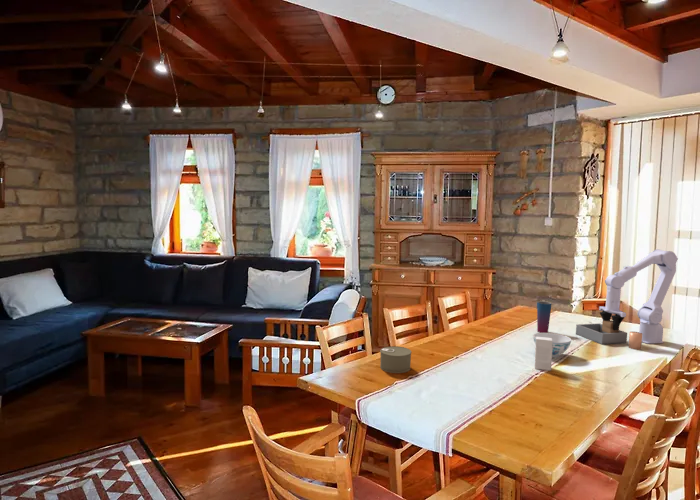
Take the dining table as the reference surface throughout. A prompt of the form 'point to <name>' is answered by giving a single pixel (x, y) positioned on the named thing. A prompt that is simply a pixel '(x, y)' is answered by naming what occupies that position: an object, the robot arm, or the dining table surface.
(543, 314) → the cup
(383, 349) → the can
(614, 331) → the walnut cube
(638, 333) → the terracotta cylinder
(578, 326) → the tote
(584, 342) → the dining table surface
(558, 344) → the chinaware
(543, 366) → the skincare box
